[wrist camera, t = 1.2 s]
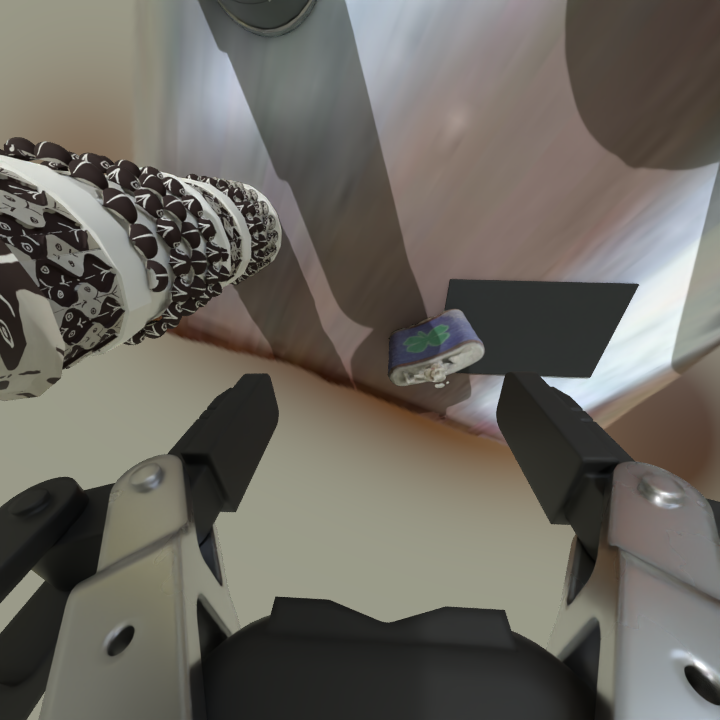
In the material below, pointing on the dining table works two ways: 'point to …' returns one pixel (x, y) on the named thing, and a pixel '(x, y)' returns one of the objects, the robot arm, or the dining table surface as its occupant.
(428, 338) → the flask
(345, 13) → the dining table surface
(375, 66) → the dining table surface
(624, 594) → the robot arm
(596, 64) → the dining table surface
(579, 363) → the mat
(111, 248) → the decorative candle
